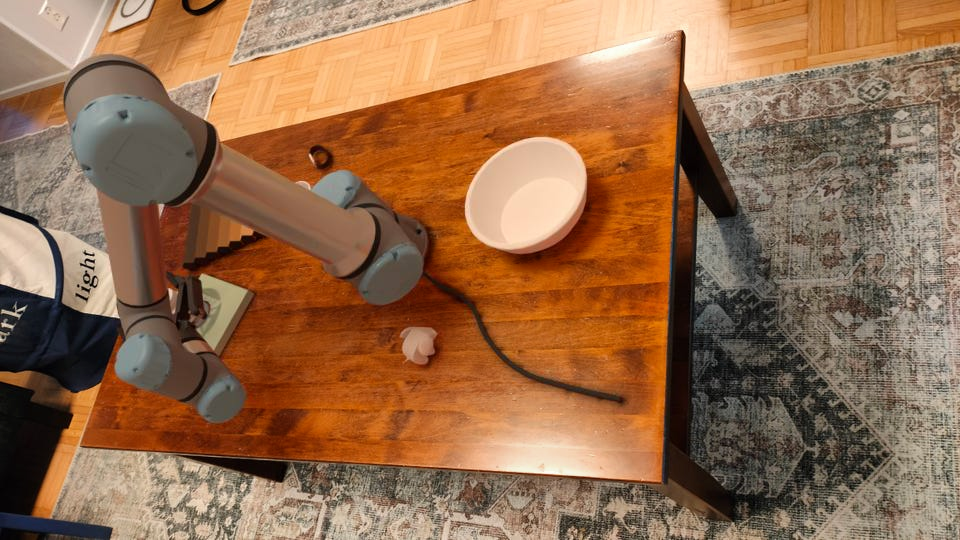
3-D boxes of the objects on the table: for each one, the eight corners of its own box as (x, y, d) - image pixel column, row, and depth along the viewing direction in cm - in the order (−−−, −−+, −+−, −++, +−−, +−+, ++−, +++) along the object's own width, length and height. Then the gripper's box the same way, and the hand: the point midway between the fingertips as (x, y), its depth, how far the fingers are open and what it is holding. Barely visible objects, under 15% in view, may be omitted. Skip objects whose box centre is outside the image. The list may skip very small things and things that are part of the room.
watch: (311, 157, 157) (301, 148, 154) (326, 145, 157) (317, 136, 154) (320, 176, 153) (310, 167, 150) (335, 163, 152) (326, 154, 149)
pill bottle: (219, 311, 147) (179, 289, 138) (204, 334, 146) (162, 315, 137) (206, 302, 151) (166, 281, 142) (190, 325, 149) (149, 305, 141)
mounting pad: (254, 293, 144) (248, 290, 143) (212, 368, 140) (205, 365, 138) (208, 276, 155) (201, 273, 153) (167, 346, 150) (160, 343, 148)
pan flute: (199, 192, 172) (189, 271, 159) (189, 185, 170) (178, 265, 156) (274, 154, 165) (270, 234, 151) (264, 146, 162) (260, 226, 149)
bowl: (512, 158, 128) (494, 131, 121) (619, 169, 115) (605, 141, 108) (466, 259, 122) (444, 237, 115) (574, 283, 109) (556, 260, 102)
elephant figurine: (453, 342, 115) (436, 329, 110) (426, 379, 114) (408, 368, 109) (429, 324, 119) (411, 311, 114) (402, 361, 118) (384, 349, 113)
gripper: (161, 422, 115) (121, 361, 128) (250, 308, 118) (202, 259, 131) (123, 410, 109) (86, 348, 123) (218, 290, 112) (172, 241, 125)
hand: (146, 302), depth 127 cm, fingers open, 13 cm apart
